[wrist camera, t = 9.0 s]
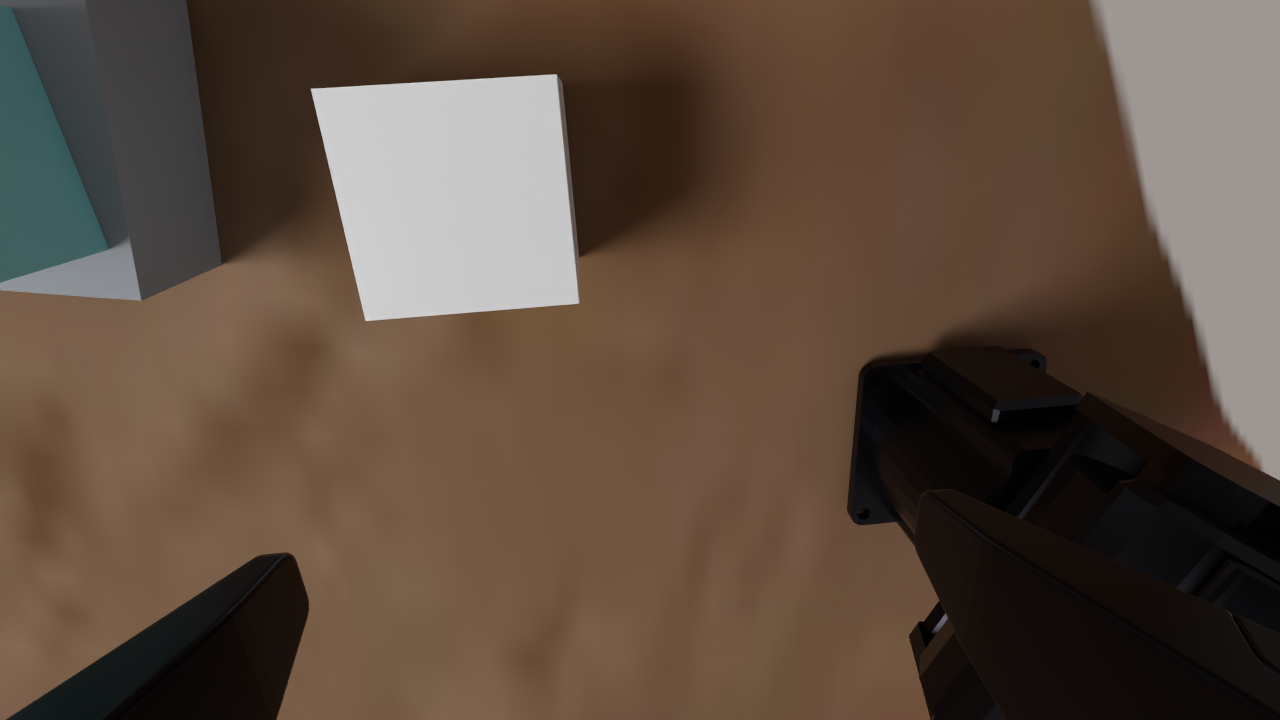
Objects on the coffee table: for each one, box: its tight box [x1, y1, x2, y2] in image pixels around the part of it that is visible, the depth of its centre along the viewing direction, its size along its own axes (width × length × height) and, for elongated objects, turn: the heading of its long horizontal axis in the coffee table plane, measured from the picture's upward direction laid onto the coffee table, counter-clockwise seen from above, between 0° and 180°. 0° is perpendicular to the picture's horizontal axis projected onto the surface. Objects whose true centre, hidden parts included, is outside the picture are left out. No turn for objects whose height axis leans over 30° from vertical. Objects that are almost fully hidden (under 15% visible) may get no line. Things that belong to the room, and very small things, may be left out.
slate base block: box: [0, 0, 222, 301], centre depth 15 cm, size 7×7×4 cm
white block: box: [311, 74, 579, 321], centre depth 16 cm, size 5×5×5 cm
